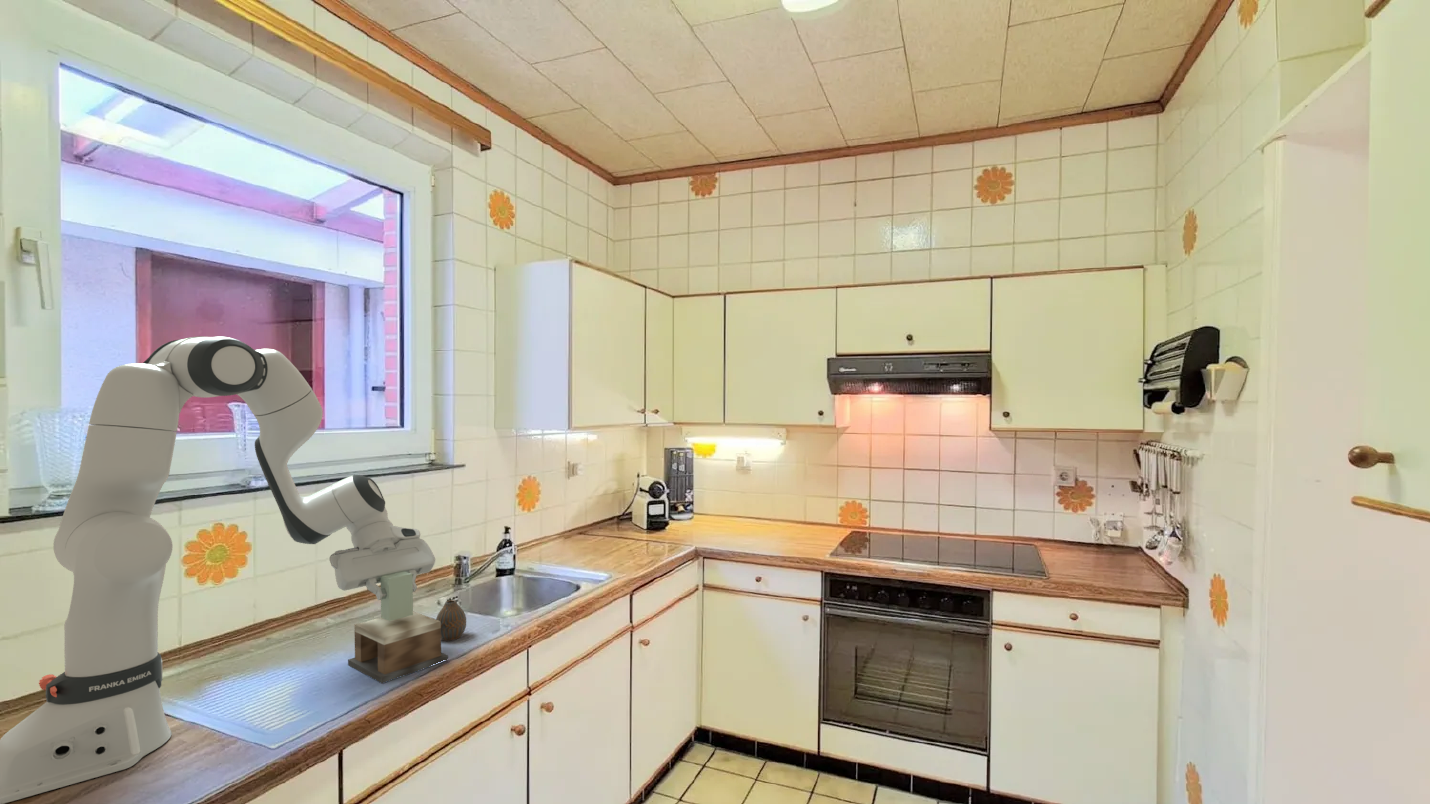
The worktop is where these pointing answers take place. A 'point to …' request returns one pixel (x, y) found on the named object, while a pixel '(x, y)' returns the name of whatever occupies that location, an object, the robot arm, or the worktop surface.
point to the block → (397, 596)
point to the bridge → (396, 646)
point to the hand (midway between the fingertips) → (398, 594)
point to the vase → (451, 621)
